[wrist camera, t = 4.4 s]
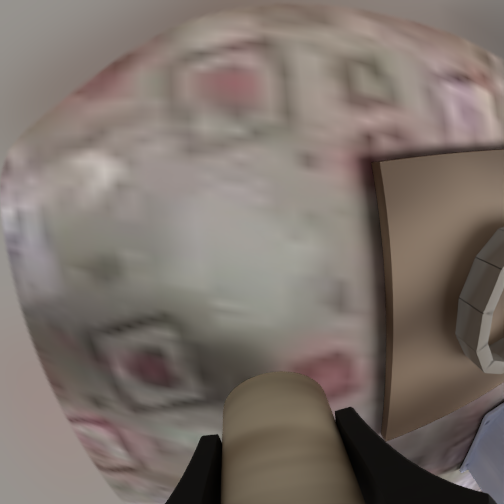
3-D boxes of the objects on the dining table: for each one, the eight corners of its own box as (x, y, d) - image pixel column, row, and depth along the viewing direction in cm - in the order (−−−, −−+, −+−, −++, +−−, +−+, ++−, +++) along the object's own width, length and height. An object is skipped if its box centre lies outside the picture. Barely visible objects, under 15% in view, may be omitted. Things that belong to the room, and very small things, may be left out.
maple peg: (329, 430, 12) (363, 533, 6) (237, 448, 12) (240, 556, 6) (321, 360, 11) (373, 485, 5) (210, 382, 11) (198, 515, 5)
